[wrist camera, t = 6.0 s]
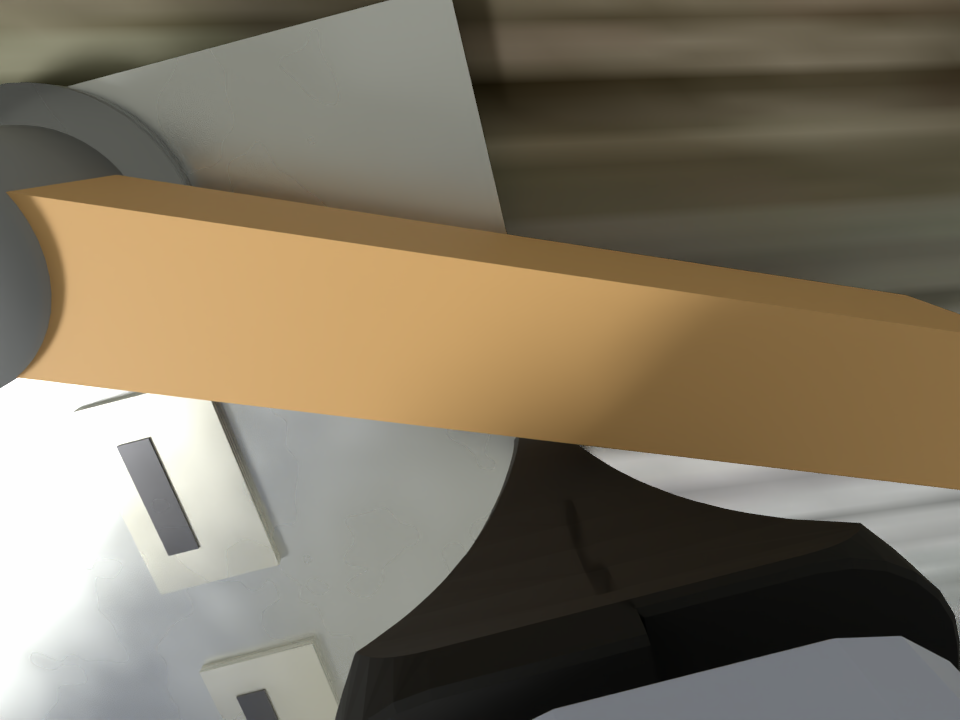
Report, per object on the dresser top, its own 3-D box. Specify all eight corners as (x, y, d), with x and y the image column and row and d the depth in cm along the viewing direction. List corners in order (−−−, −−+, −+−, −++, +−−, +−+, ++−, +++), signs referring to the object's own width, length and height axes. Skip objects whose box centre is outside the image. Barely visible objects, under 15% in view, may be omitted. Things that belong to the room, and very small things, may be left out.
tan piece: (909, 264, 12) (1076, 312, 9) (847, 434, 13) (978, 530, 10) (-78, 108, 10) (-302, 100, 7) (-58, 319, 11) (-248, 393, 8)
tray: (634, 783, 17) (645, 823, 16) (92, 916, 17) (72, 962, 16) (444, -22, 11) (445, -36, 10) (-384, 199, 11) (-458, 206, 10)
